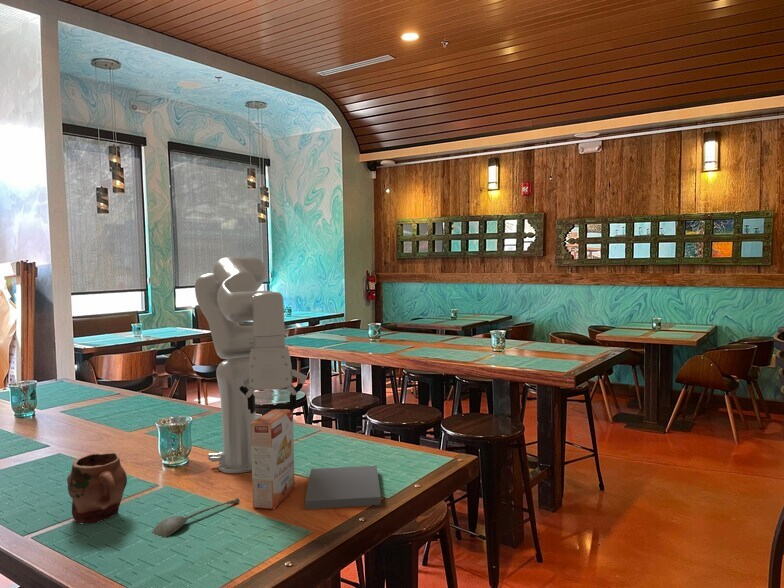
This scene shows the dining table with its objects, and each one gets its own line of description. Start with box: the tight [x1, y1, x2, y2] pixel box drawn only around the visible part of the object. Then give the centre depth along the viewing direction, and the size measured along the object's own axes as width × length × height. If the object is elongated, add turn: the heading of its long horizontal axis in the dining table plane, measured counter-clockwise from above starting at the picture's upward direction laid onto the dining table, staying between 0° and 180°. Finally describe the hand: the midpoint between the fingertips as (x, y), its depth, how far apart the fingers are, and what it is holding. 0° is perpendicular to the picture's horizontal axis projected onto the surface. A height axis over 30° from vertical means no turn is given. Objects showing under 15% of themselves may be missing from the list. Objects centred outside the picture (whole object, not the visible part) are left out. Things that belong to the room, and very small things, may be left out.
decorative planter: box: [66, 452, 128, 524], centre depth 137 cm, size 20×12×14 cm, turn 51°
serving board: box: [304, 465, 382, 510], centre depth 151 cm, size 18×22×2 cm
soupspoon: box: [152, 497, 240, 538], centre depth 136 cm, size 22×3×7 cm
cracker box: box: [251, 408, 296, 510], centre depth 146 cm, size 14×6×21 cm, turn 168°
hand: (272, 411), depth 145 cm, fingers open, 9 cm apart
